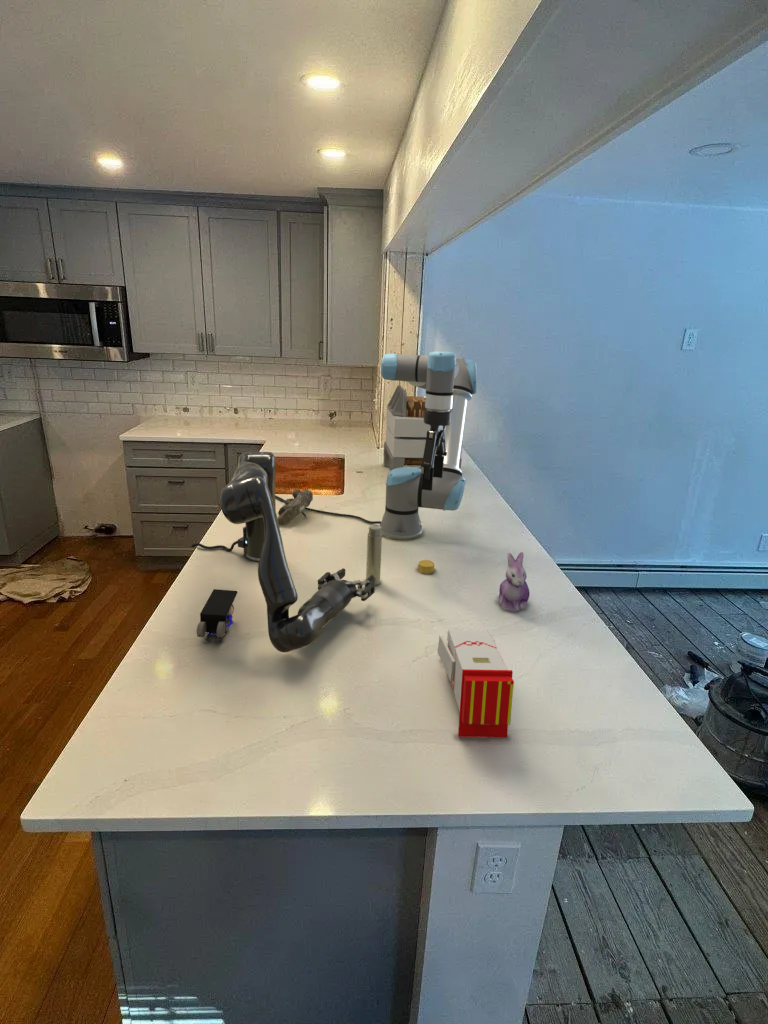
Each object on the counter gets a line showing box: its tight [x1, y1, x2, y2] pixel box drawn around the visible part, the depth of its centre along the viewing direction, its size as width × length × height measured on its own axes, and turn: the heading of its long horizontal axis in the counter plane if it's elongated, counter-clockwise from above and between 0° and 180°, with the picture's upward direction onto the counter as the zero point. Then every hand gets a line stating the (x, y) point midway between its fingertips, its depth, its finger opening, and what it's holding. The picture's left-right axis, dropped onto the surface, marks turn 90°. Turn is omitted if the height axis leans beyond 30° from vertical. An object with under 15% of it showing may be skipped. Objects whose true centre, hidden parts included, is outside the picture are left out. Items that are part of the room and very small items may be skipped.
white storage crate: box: [383, 384, 465, 472], centre depth 268 cm, size 34×33×41 cm
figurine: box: [497, 551, 530, 612], centre depth 152 cm, size 9×10×15 cm
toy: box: [437, 628, 515, 738], centre depth 117 cm, size 12×13×30 cm
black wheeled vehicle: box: [196, 588, 238, 643], centre depth 135 cm, size 7×8×15 cm
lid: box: [417, 559, 435, 575], centre depth 172 cm, size 5×5×2 cm
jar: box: [365, 524, 383, 586], centre depth 161 cm, size 4×4×17 cm
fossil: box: [277, 488, 314, 526], centre depth 210 cm, size 22×10×15 cm
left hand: (358, 575), depth 153 cm, fingers open, 8 cm apart
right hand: (432, 483), depth 164 cm, fingers open, 13 cm apart
